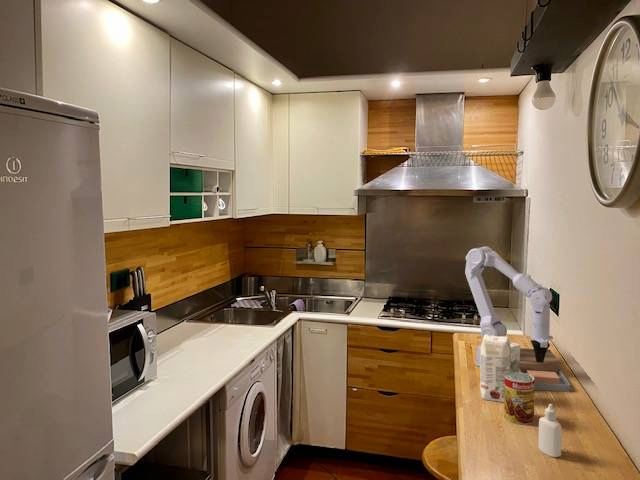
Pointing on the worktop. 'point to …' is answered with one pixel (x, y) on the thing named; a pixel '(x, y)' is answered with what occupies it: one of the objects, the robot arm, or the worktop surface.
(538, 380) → the tile
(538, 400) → the worktop surface
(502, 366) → the juice carton
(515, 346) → the syrup box
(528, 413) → the canned food
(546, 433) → the eye dropper bottle
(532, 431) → the worktop surface
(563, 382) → the tray
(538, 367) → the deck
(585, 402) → the worktop surface
